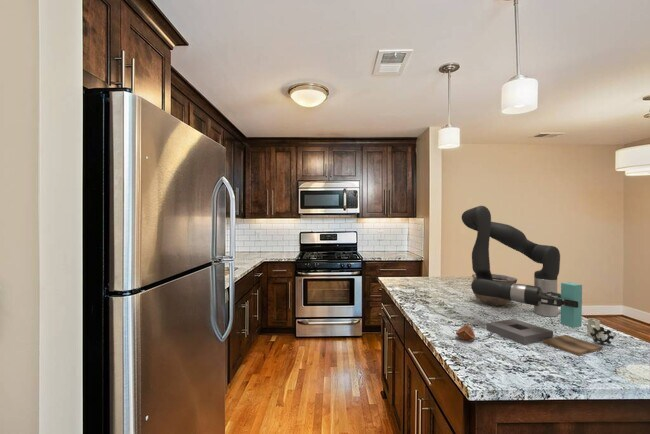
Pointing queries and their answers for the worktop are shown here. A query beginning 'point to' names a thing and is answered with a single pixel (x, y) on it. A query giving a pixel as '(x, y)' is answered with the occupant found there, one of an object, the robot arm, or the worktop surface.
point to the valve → (597, 331)
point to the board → (572, 345)
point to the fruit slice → (466, 333)
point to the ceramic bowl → (495, 300)
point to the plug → (571, 314)
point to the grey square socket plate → (519, 331)
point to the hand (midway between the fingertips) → (579, 303)
